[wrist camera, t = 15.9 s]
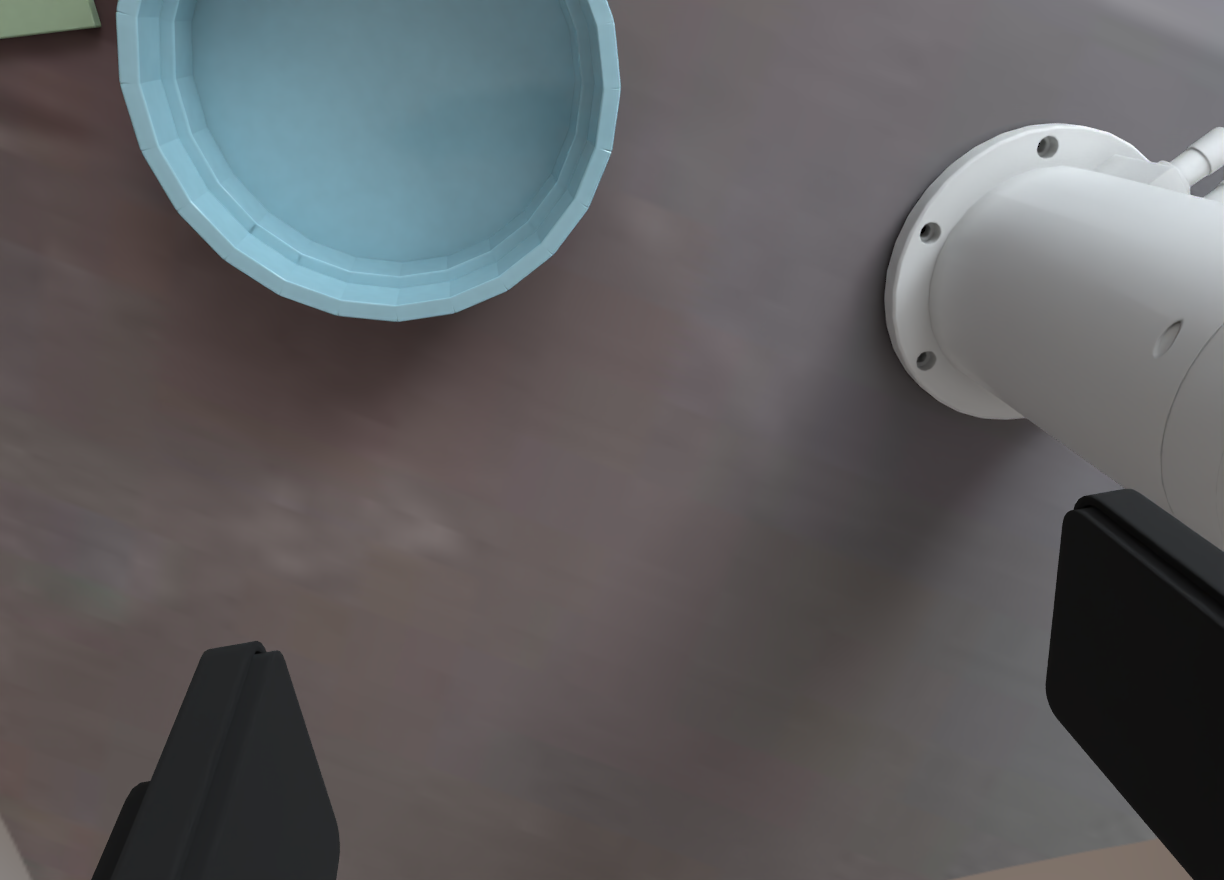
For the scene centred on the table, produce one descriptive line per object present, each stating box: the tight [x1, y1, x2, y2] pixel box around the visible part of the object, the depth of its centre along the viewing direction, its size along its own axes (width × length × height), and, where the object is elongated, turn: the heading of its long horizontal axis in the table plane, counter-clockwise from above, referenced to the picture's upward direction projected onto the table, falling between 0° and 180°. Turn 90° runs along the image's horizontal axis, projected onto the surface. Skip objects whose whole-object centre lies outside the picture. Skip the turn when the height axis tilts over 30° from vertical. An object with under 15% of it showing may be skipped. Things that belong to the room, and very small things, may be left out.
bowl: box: [116, 0, 621, 322], centre depth 32 cm, size 15×15×5 cm
